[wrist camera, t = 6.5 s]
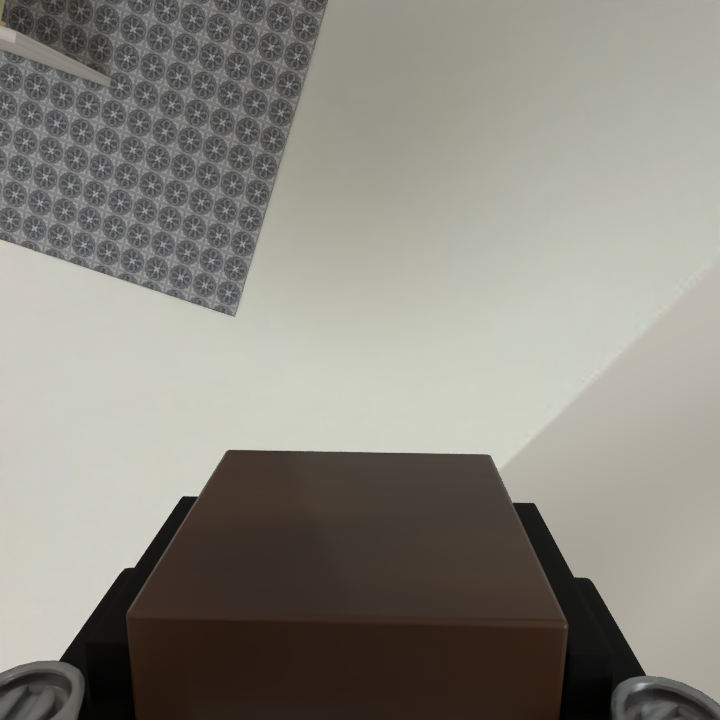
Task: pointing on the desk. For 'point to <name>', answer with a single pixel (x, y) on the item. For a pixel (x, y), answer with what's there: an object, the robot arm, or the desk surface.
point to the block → (348, 596)
